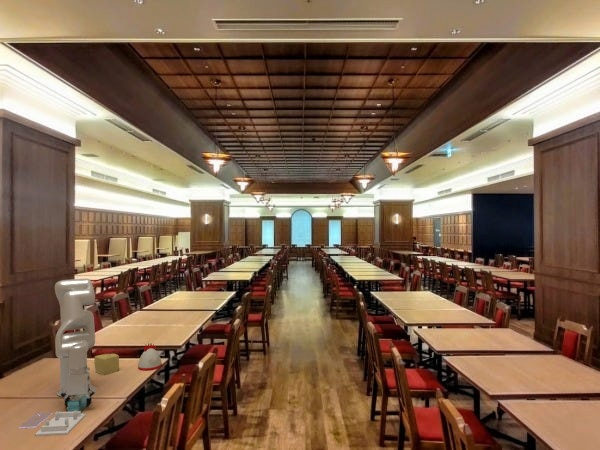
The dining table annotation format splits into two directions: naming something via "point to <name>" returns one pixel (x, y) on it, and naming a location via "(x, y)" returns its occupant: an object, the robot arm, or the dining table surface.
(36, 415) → the mobile phone
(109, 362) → the cheese
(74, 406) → the teal rectangular block
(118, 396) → the dining table surface
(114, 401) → the dining table surface
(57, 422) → the tray
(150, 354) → the kitchen timer
